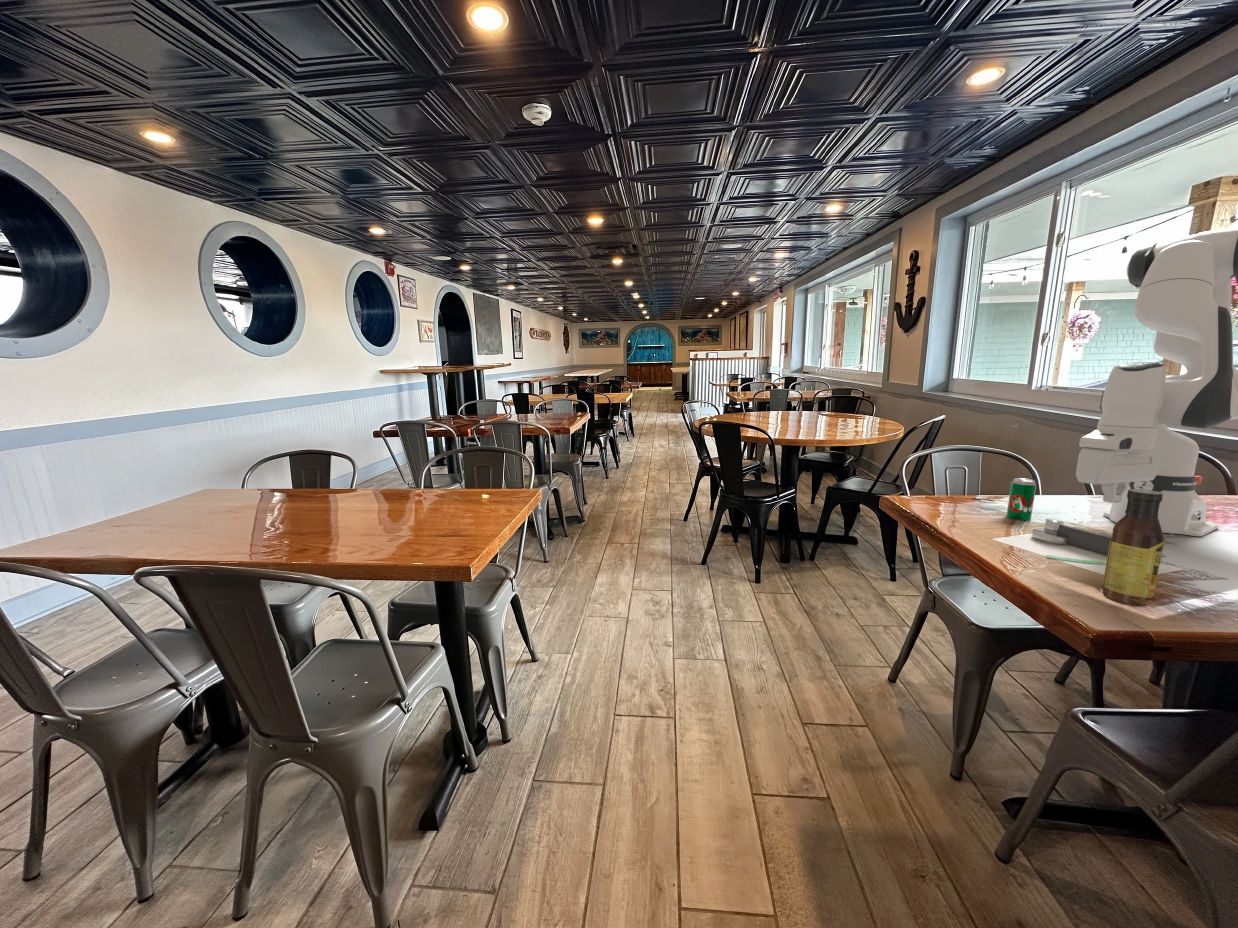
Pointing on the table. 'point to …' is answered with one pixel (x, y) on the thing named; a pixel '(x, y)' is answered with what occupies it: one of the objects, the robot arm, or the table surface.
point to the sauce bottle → (1135, 550)
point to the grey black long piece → (1072, 537)
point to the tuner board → (1067, 553)
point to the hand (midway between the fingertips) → (1111, 501)
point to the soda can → (1021, 499)
